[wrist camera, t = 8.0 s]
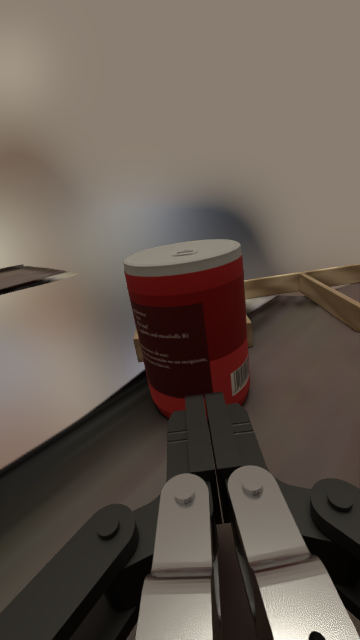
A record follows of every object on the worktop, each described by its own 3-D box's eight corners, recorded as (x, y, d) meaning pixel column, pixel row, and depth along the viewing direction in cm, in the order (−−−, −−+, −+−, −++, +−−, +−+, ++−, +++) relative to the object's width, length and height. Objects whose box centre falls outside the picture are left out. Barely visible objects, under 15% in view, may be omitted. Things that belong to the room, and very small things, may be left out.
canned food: (234, 358, 27) (224, 235, 23) (267, 416, 20) (260, 249, 16) (151, 373, 27) (126, 250, 23) (153, 437, 19) (115, 272, 15)
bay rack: (377, 278, 42) (379, 260, 41) (476, 315, 28) (483, 290, 27) (149, 311, 42) (146, 294, 42) (138, 362, 29) (133, 339, 28)
